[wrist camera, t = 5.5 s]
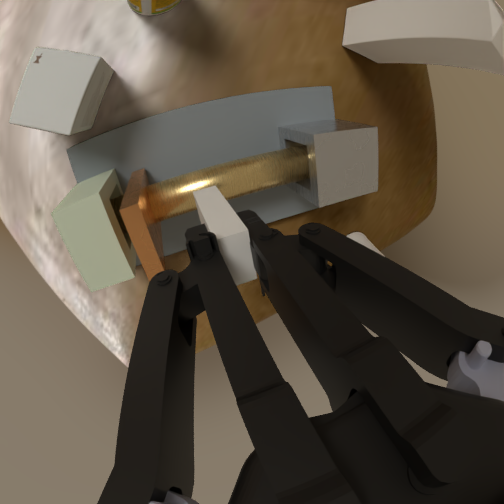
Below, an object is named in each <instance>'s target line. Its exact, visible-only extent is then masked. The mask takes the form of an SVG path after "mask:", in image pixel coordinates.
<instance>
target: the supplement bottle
mask: <svg viewBox="0 0 504 504" xmlns="http://www.w3.org/2000/svg"><path fill="white" fill-rule="evenodd" d="M127 1H128V4H129V6H130V8H131V9H132V10H133V11H135V12H137V13H139V14H142V15H159V14H162V13H165V12H168V11H169V10H171V9H173V8H174V7H175V6H177V5H178V3H179V2H180V1H181V0H127Z"/></svg>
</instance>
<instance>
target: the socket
mask: <svg viewBox="0 0 504 504" xmlns="http://www.w3.org/2000/svg"><path fill="white" fill-rule="evenodd" d="M121 195H123V192H122V189H121V186H120V183H119V180H118V177H117V174H116V171H115V168H114V169H111V170H109V171H106V172H103V173H101V174H99V175H96V176H94V177H91V178H89V179H87V180H84V181H82V182H80V183H78V184H77V185H76V186H75V187H74V188H73V189H72V190H71V191H70V192H69V193H68V194H67V195H66V197H65V198H64V199H63V200H62V201H61V202H60V203H59V205H58V206H57V207H56V208H55V209H54V211H53V212H52V213H51V215H52V218H53V220H54V222H55V224H56V227H57V229H58V231H59V233H60V235H61V237H62V239H63V241H64V243H65V245H66V247H67V249H68V251H69V253H70V255H71V257H72V259H73V261H74V263H75V265H76V267H77V268H78V270H79V272H80V274H81V276H82V277H83V279H84V281H85V283H86V284H87V286H88V288H89V289H90V291H91V292H94V291H97V290H100V289H103V288H106V287H109V286H111V285H114V284H117V283H120V282H123V281H126V280H129V279H132V278H135V267H136V250H135V248H134V245H133V243H132V241H131V238H130V236H129V234H128V233H127V234H124V235H123V233H122V230H121V228H120V225H119V223H118V220H117V218H116V215H115V213H114V210H113V207H112V205H111V202H110V199H113V198H115V197H118V196H121Z"/></svg>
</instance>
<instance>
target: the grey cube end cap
mask: <svg viewBox="0 0 504 504" xmlns="http://www.w3.org/2000/svg"><path fill="white" fill-rule="evenodd" d="M278 134H279V141H280V149H285V148H290V147H295V146H301V145H307V155H308V165H309V176H310V178H309V179H305V180H301V181H297V182H293V183H289V184H285V185H286V186H287V187H289V188H290V189H292V190H293V191H295V192H296V193H298V194H299V195H301V196H302V197H304V198H305V199H307V200H308V201H310V202H311V203H313V204H314V205H316V206H317V207H319V208H320V207H323V206H327V205H330V204H334V203H337V202H340V201H344V200H347V199H351V198H354V197H358V196H361V195H365V194H368V193H372V192H375V191H378V127H375V126H371V125H366V124H361V123H356V122H350V121H345V120H339V119H329V120H320V121H313V122H305V123H298V124H292V125H285V126H279V127H278Z"/></svg>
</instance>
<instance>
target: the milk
mask: <svg viewBox="0 0 504 504" xmlns="http://www.w3.org/2000/svg"><path fill="white" fill-rule="evenodd" d="M342 46H344V47H346V48H348V49H350V50H352V51H355V52H357V53H359V54H361V55H363V56H365V57H367V58H369V59H371V60H373V61H374V62H376V63H416V64H433V65H445V66H454V67H463V68H469V69H475V70H481V71H487V72H491V73H496V74H500V75H504V10H503V9H502V8H501V7H500V5H499V4H498V3H497V2H496V1H495V0H375V1H371V2H367V3H364V4H360V5H357V6H353V7H350V8H347V13H346V21H345V29H344V36H343V43H342Z"/></svg>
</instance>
